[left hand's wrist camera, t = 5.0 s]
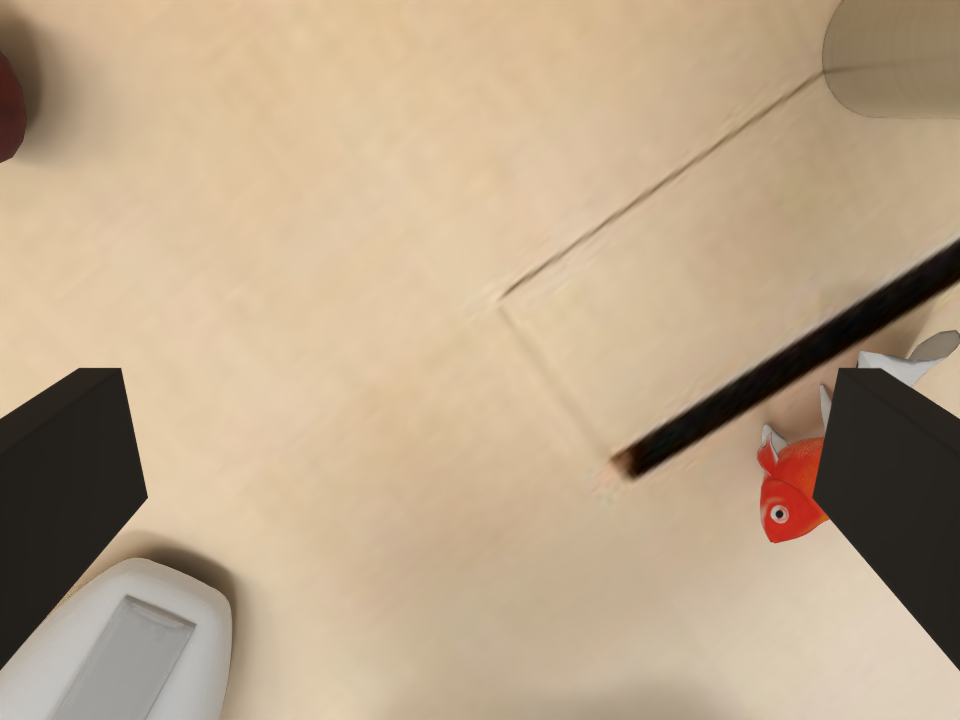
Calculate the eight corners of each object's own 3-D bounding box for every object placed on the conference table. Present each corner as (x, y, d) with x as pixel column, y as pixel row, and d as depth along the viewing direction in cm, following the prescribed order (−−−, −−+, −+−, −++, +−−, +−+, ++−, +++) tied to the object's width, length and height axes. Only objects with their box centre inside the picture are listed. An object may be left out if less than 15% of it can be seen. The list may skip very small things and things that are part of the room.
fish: (682, 415, 38) (848, 512, 30) (855, 259, 41) (1043, 311, 34) (712, 519, 44) (855, 620, 37) (860, 377, 48) (1018, 442, 40)
